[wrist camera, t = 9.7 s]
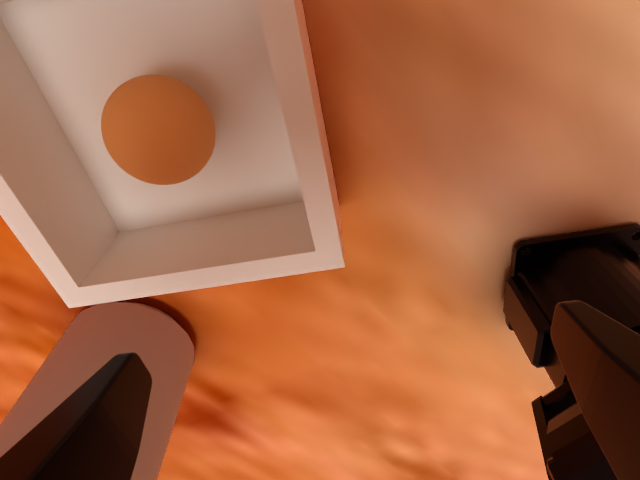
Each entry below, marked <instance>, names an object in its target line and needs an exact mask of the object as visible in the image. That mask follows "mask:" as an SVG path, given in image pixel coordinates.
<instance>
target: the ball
mask: <svg viewBox="0 0 640 480" xmlns="http://www.w3.org/2000/svg"><path fill="white" fill-rule="evenodd" d="M101 131H102V138H103V141H104V144H105V146H106V149H107V151H108V152H109V154H110V156H111V157H112V159H113V160H114V161H115V162H116V163H117V165H118V166H119V167H120V168H122V169H123V170H124V171H125V172H126V173H128V174H129V175H131V176H133V177H134V178H136V179H139V180H141V181H144V182H146V183H150V184H156V185H172V184H177V183H181V182H183V181H186V180H188V179H190V178H192V177H193V176H195V175H196V174H197V173H199V172H200V171H201V170H202V169H203V168H204V167H205V165H206V164H207V162H208V161H209V159H210V157H211V155H212V153H213V149H214V146H215V124H214V120H213V117H212V115H211V112H210V110H209V108H208V106H207V105H206V103H205V102H204V100H203V99H202V98H201V97H200V96H199V94H198V93H197V92H195V91H194V90H193V89H192V88H191V87H189V86H188V85H186V84H184V83H183V82H181V81H179V80H176V79H174V78H171V77H167V76H163V75H143V76H138V77H135V78H132V79H130V80H128V81H126V82H124V83H123V84H121V85H120V86H119V87H117V88H116V89H115V90H114V91H113V92H112V94H111V95H110V97H109V98H108V100H107V102H106V104H105V106H104V109H103V112H102V117H101Z"/></svg>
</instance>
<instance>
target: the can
mask: <svg viewBox="0 0 640 480" xmlns="http://www.w3.org/2000/svg"><path fill="white" fill-rule="evenodd" d="M129 352H135V353H137V354H138V355H139V356H140V358H141V359H142V361H143V363H144V364H145V366H146V367H147V369H148V371H149V372H150V374H151V377H152V388H151V393H150V398H149V404H148V409H147V414H146V419H145V424H144V429H143V434H142V440H141V444H140V449H139V453H138V456H137V460H136V464H135V467H134V471H133V474H132V477H131V480H157V478H158V474H159V471H160V468H161V465H162V462H163V458H164V455H165V452H166V449H167V446H168V442H169V439H170V436H171V433H172V430H173V426H174V423H175V420H176V417H177V414H178V410H179V407H180V404H181V401H182V398H183V394H184V391H185V388H186V385H187V382H188V378H189V375H190V372H191V369H192V366H193V362H194V345H193V343H192V341H191V339H190V337H189V335H188V334H187V333H186V332H185V331H184V330H183V329H182V328H181V327H180V325H179V324H178V323H177V322H176V321H175V320H174V319H173V318H172V317H171V316H169V315H167V314H166V313H164V312H162V311H161V310H159V309H157V308H154V307H151V306H148V305H145V304H142V303H133V302H113V303H105V304H97V305H94V306H92V307H90V308H88V309H85V310H83V311H81V312H80V313H79V314H78V315H77V316H76V318H75V319H74V320H73V321H72V322H71V323H70V325H69V326H68V328H67V329H66V331H65V332H64V334H63V335H62V336H61V338H60V339H59V341H58V342H57V344H56V345H55V347H54V348H53V349H52V351H51V352H50V354H49V355H48V357H47V358H46V360H45V361H44V363H43V364H42V365H41V367H40V368H39V370H38V371H37V373H36V374H35V376H34V377H33V378H32V380H31V381H30V383H29V384H28V386H27V387H26V389H25V390H24V391H23V393H22V394H21V396H20V397H19V399H18V400H17V402H16V403H15V405H14V406H13V407H12V409H11V410H10V412H9V413H8V415H7V416H6V418H5V419H4V420H3V422H2V423H1V425H0V457H1V456H2V455H3V454H5V453H6V452H7V451H8V450H9V449H10V448H11V447H13V446H14V445H15V444H16V443H17V442H18V441H19V440H20V439H22V438H23V437H24V436H25V435H26V434H27V433H28V432H29V431H31V430H32V429H33V428H34V427H35V426H36V425H37V424H38V423H40V422H41V421H42V420H43V419H44V418H45V417H46V416H47V415H49V414H50V413H51V412H52V411H53V410H54V409H55V408H56V407H58V406H59V405H60V404H61V403H62V402H63V401H64V400H65V399H66V398H68V397H69V396H70V395H71V394H72V393H73V392H74V391H75V390H77V389H78V388H79V387H80V386H81V385H82V384H83V383H84V382H86V381H87V380H88V379H89V378H90V377H91V376H92V375H93V374H95V373H96V372H97V371H98V370H99V369H100V368H101V367H102V366H104V365H105V364H106V363H107V362H108V361H109V360H110V359H111V358H113V357H114V356H115V355H117V354H120V353H129Z"/></svg>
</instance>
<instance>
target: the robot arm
mask: <svg viewBox="0 0 640 480" xmlns="http://www.w3.org/2000/svg"><path fill="white" fill-rule="evenodd" d="M634 233H635V234H634ZM633 234H634V235H633ZM526 248H527V250H525V251H523V252H522V250H524V249H526ZM503 311H504V313H505V315H506V324H507V326H508V328H509V329H510V330H513V331H514V332H515V334H516V336H517V338H518V339H519V341H520V343H521V345H522V347H523V349H524V351H525V353H526V354H527V356H528V358H529V360H530V362H531V364H532V365H534V366H535V367H537V368H540V367H544V368H545V369H546V371H547V373H548V375H549V377H550V378H551V380H552V382H553V384H554V385H555V387H556V388H555V389H554V390H552V391H551V392H549V393H548V394H546V395H545V396H543V397H542V396H540V397H538V398H537V399H535V400H534V401H532V407H533V412H534V417H535V421H536V426H537V430H538V435H539V439H540V444H541V448H542V453H543V457H544V462H545V466H546V471H547V475H548V478H549V480H640V225H639V224H630V225H623V226H616V227H610V228H603V229H596V230H590V231H583V232H576V233H569V234H563V235H556V236H549V237H542V238H536V239H529V240H523V241H520V242H518V243H517V244H516V245H515V246H514V248H513V256H512V265H511V275H510V276H509V277H508V279H507V280H506V288H505V298H504V309H503ZM151 388H152V377H151V374H150V372H149V371H148V369H147V367H146V366H145V364H144V363H143V361H142V359H141V358H140V356H139V355H138V354H137V353H135V352H129V353H120V354H117V355H115V356H114V357H113V358H111V359H110V360H109V361H108V362H107V363H106V364H105V365H104V366H102V367H101V368H100V369H99V370H98V371H97V372H96V373H95V374H93V375H92V376H91V377H90V378H89V379H88V380H87V381H86V382H84V383H83V384H82V385H81V386H80V387H79V388H78V389H77V390H75V391H74V392H73V393H72V394H71V395H70V396H69V397H68V398H66V399H65V400H64V401H63V402H62V403H61V404H60V405H59V406H58V407H56V408H55V409H54V410H53V411H52V412H51V413H50V414H49V415H47V416H46V417H45V418H44V419H43V420H42V421H41V422H40V423H38V424H37V425H36V426H35V427H34V428H33V429H32V430H31V431H29V432H28V433H27V434H26V435H25V436H24V437H23V438H22V439H20V440H19V441H18V442H17V443H16V444H15V445H14V446H13V447H11V448H10V449H9V450H8V451H7V452H6V453H5V454H3V455H2V456H1V457H0V480H131V477H132V474H133V471H134V467H135V464H136V460H137V456H138V453H139V449H140V444H141V440H142V434H143V429H144V424H145V419H146V414H147V409H148V404H149V398H150V393H151Z"/></svg>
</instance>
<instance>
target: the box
mask: <svg viewBox="0 0 640 480" xmlns="http://www.w3.org/2000/svg"><path fill="white" fill-rule="evenodd" d="M143 75H163V76H167V77H171V78H174V79H176V80H179V81H181V82H183V83H184V84H186V85H188V86H189V87H191V88H192V89H193V90H194V91H195V92H197V93H198V94H199V96H200V97H201V98H202V99H203V100H204V102H205V103H206V105H207V106H208V108H209V110H210V112H211V115H212V117H213V120H214V124H215V146H214V149H213V153H212V155H211V157H210V159H209V161H208V162H207V164H206V165H205V167H204V168H203V169H202V170H201V171H200V172H199V173H197V174H196V175H195V176H193V177H192V178H190V179H188V180H186V181H183V182H181V183H177V184H172V185H156V184H150V183H146V182H144V181H141V180H139V179H136V178H134V177H133V176H131V175H129V174H128V173H126V172H125V171H124V170H123V169H122V168H120V167H119V166H118V165H117V163H116V162H115V161H114V160H113V159H112V157H111V156H110V154H109V152H108V151H107V149H106V146H105V144H104V141H103V138H102V131H101V117H102V112H103V109H104V106H105V104H106V102H107V100H108V98H109V97H110V95H111V94H112V92H113V91H114V90H115V89H116V88H117V87H119V86H120V85H121V84H123V83H124V82H126V81H128V80H130V79H132V78H135V77H138V76H143ZM0 215H1V217H2V218H3V219H4V221H5V222H6V223H7V225H8V226H9V227H10V229H11V230H12V232H13V233H14V234H15V236H16V237H17V238H18V240H19V241H20V242H21V244H22V245H23V246H24V248H25V249H26V251H27V252H28V253H29V255H30V256H31V257H32V259H33V260H34V261H35V263H36V264H37V265H38V267H39V268H40V270H41V271H42V272H43V274H44V275H45V276H46V278H47V279H48V280H49V282H50V283H51V285H52V286H53V287H54V289H55V290H56V291H57V293H58V294H59V295H60V297H61V298H62V299H63V301H64V302H65V304H66V305H67V306H68V308H74V307H81V306H88V305H95V304H101V303H108V302H115V301H121V300H128V299H135V298H142V297H148V296H155V295H162V294H169V293H175V292H182V291H189V290H196V289H202V288H209V287H216V286H222V285H229V284H236V283H243V282H249V281H256V280H263V279H270V278H276V277H283V276H290V275H297V274H303V273H310V272H317V271H323V270H330V269H337V268H344V267H345V264H344V252H343V241H342V230H341V219H340V208H339V201H338V196H337V190H336V185H335V179H334V174H333V168H332V163H331V157H330V152H329V146H328V141H327V135H326V130H325V124H324V119H323V113H322V108H321V102H320V97H319V91H318V86H317V80H316V75H315V69H314V64H313V58H312V53H311V47H310V42H309V37H308V31H307V26H306V20H305V15H304V9H303V4H302V0H0Z"/></svg>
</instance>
